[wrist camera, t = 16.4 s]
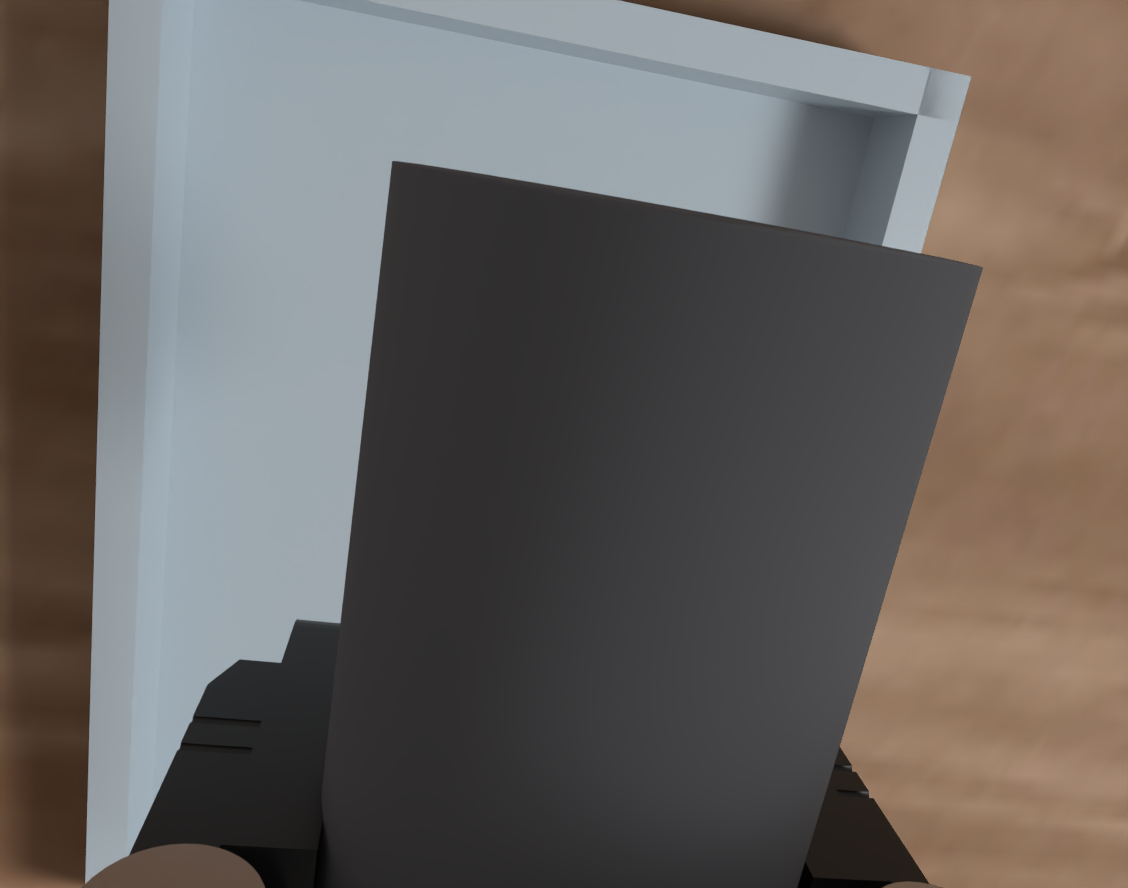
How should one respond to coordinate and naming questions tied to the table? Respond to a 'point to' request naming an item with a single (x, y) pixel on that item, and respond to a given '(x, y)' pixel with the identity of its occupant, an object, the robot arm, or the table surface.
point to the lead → (617, 535)
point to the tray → (352, 266)
